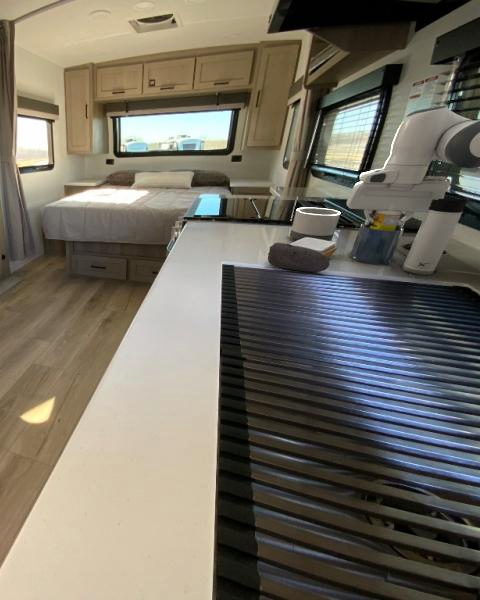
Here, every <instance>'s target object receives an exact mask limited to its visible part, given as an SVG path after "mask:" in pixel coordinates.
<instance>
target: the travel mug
mask: <svg viewBox="0 0 480 600" xmlns="http://www.w3.org/2000/svg"><path fill="white" fill-rule="evenodd" d="M470 201H471V198H444V199H438V200H435V199H433V200H432V202H431V204H430V205H431V206H430V207H429V209H428V210H427V212H425V215H424V217H423V219H422V222H421V224H420V227H419V229H418V231H417V233H416V235H415V237H414V240H413V242H412V245H411V247H410V249H409V251H408V253H407V256H406V259H405V260H404V263H403V264H402V267H401V268H402V270H403V271H404V272H407V273H409V274H415V275H421V276H431V275H433V274H434V272H435V270H436V268H437V265H438V264H439V262H440V259H441V257H442V255H443V253H444V251H445V249H446V247H447V245H448V243H449V241H450V239H451V237H452V235H453V233H454V231H455V229H456V227H457V224H458V222H459V220H460V218H461V216H462V214H463V212H464V209H465V207H466V205H467V203H469V202H470Z"/></svg>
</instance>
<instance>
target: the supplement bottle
mask: <svg viewBox="0 0 480 600" xmlns="http://www.w3.org/2000/svg"><path fill="white" fill-rule="evenodd" d="M397 205H398V204H390V205H389V207H388V210H375V213H374V216H373V218H372V219H374V222H373V225H372V226H370V228H372V229H377V230H387V231H395V228H396V226H397V223H398V221H399V220H400V219H401V215H402V211H395V210H397V209H396V208H397Z"/></svg>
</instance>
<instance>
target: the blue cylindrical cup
mask: <svg viewBox="0 0 480 600" xmlns="http://www.w3.org/2000/svg"><path fill="white" fill-rule="evenodd" d="M370 226H371V225H365V222H364V223H361V224H360V227H359V229H358V232H357V234H356V238H355V240H354V243H353V245H352V248H351V252H350V255H349V257H350V259H352V260H354V261H356V262H359V263H364V264H368V265H379V266H383V265H389V264H390V263H391V261H392V259H393V257H394V254H395V251H396V249H397V247H398V244H399V242H400V241H401V237H402V235H403V233H404V230H405V228H404V227H396V228H395V231H387V230H377V229H372V228H370Z"/></svg>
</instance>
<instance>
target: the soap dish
mask: <svg viewBox="0 0 480 600" xmlns="http://www.w3.org/2000/svg"><path fill="white" fill-rule="evenodd" d="M336 244H337V243H336V242H335V241H332V240H331V241H326V240H320V239H315V238H309V237H305V238H303V239H300V240H298V241H297V240H296V241H293V242H291V243H290V245H294V246H301V247H305V248H309V249H312V250H315V251H318V252H320V253H322V254H323V255H325V256H326V257H327V258H328V259H330V258H331V257H332V256H333V255H334V253H336V251H337V250H338V248H339V246H336Z"/></svg>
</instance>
